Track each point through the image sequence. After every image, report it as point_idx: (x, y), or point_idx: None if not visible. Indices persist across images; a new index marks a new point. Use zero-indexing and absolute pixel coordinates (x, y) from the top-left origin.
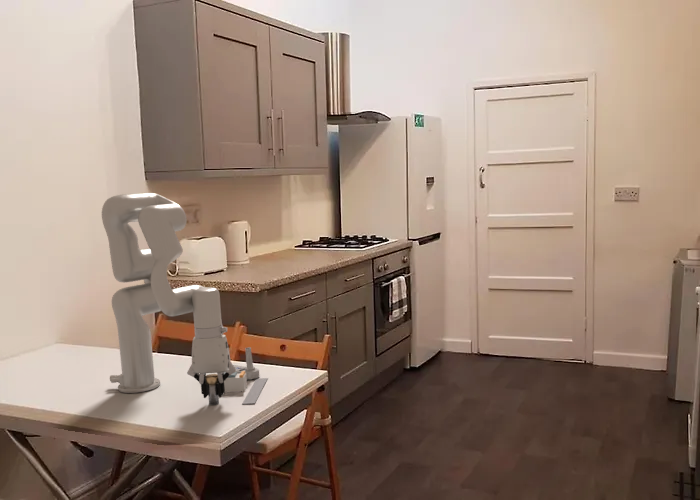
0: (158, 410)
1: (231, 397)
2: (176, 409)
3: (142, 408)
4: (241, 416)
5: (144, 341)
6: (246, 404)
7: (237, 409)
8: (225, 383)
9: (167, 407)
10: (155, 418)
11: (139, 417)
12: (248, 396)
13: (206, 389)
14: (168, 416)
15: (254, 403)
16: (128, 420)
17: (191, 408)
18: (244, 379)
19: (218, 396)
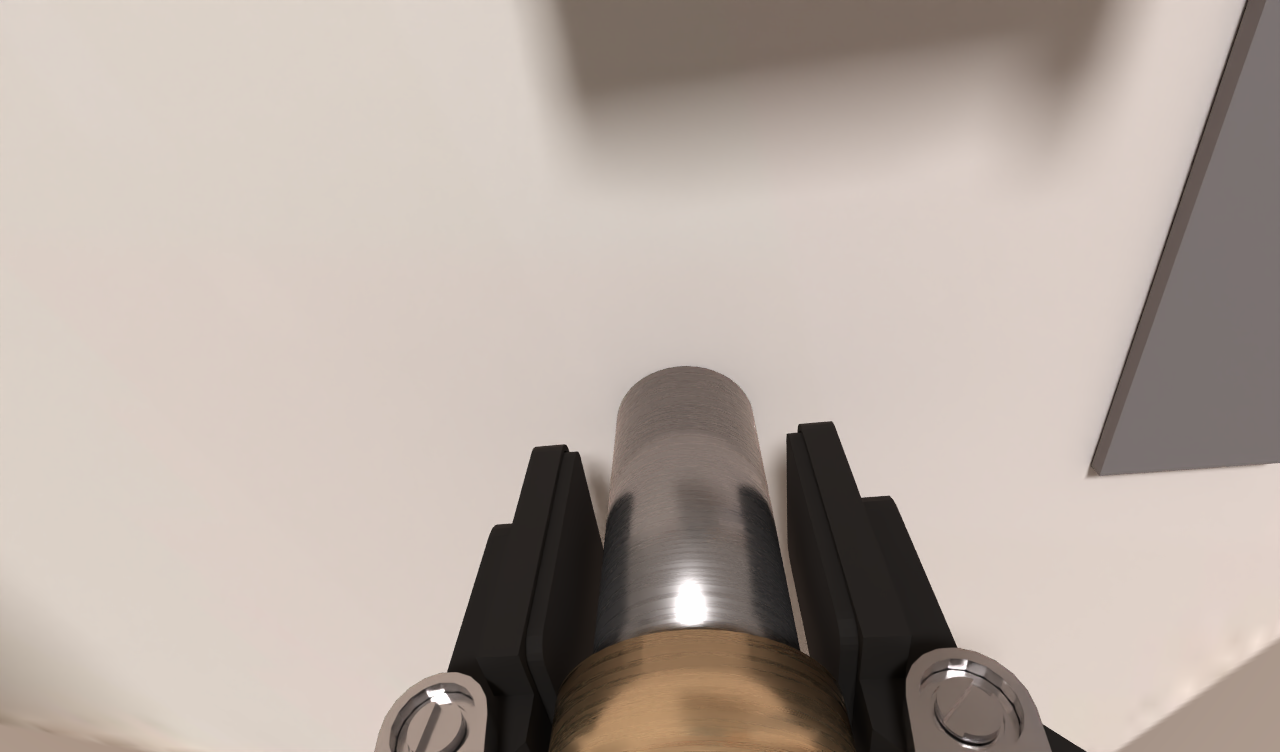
0: (142, 575)
1: (901, 145)
2: (316, 560)
3: None
4: (1064, 706)
5: None
6: (1152, 462)
7: (1024, 580)
8: None
9: (158, 509)
10: (292, 708)
11: (130, 689)
12: (1252, 166)
13: (585, 623)
14: (373, 683)
15: (1277, 459)
16: (103, 725)
17: (469, 542)
18: None
19: (791, 556)
